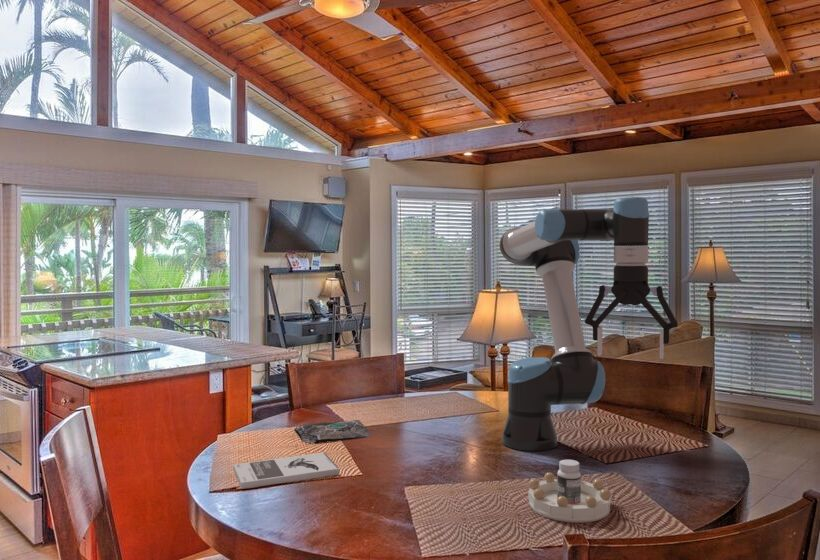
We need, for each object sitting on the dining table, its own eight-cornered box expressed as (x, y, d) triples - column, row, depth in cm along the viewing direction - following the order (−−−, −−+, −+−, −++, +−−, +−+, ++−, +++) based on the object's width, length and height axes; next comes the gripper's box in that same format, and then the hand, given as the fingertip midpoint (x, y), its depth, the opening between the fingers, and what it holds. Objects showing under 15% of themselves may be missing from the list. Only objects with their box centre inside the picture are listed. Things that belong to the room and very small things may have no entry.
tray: (519, 514, 128) (519, 491, 128) (538, 486, 143) (538, 466, 143) (605, 529, 121) (605, 504, 121) (615, 497, 136) (615, 476, 136)
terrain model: (304, 447, 176) (304, 435, 176) (294, 433, 190) (294, 422, 190) (373, 438, 184) (373, 427, 184) (359, 426, 198) (359, 416, 198)
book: (241, 491, 143) (241, 482, 143) (233, 472, 156) (233, 464, 156) (339, 476, 152) (339, 468, 152) (324, 459, 165) (324, 452, 165)
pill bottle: (554, 498, 134) (554, 459, 134) (575, 497, 134) (576, 458, 134) (561, 506, 129) (561, 466, 129) (583, 505, 130) (584, 465, 129)
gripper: (572, 265, 148) (572, 355, 148) (689, 265, 137) (688, 362, 138) (578, 264, 154) (578, 350, 155) (689, 264, 144) (689, 357, 145)
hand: (630, 356), depth 147 cm, fingers open, 13 cm apart
